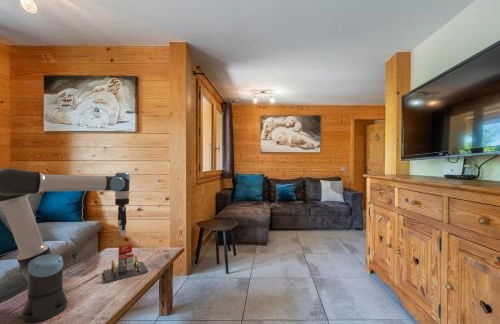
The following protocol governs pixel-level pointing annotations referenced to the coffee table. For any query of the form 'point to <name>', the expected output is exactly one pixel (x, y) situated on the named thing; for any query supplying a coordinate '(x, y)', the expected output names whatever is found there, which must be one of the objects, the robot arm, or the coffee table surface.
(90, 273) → the coffee table surface
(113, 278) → the plate
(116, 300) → the coffee table surface
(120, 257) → the ink box
